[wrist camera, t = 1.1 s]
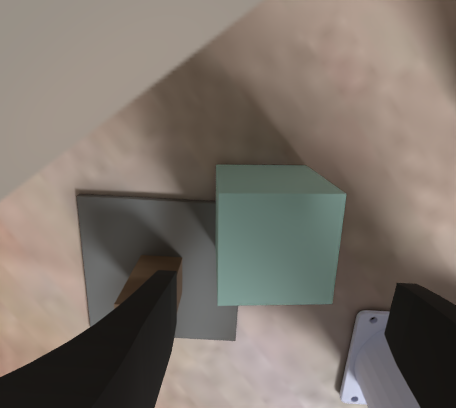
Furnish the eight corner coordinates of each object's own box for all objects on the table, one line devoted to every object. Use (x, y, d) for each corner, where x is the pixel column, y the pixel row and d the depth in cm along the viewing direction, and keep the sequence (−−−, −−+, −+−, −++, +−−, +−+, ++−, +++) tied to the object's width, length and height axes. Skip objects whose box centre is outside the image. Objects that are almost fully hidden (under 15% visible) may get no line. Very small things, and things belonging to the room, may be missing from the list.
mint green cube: (306, 165, 19) (346, 193, 14) (298, 247, 21) (332, 304, 15) (216, 164, 19) (218, 193, 13) (215, 247, 21) (217, 305, 15)
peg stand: (245, 203, 20) (248, 242, 15) (235, 336, 23) (235, 406, 18) (79, 194, 20) (27, 230, 15) (93, 329, 23) (54, 396, 18)
